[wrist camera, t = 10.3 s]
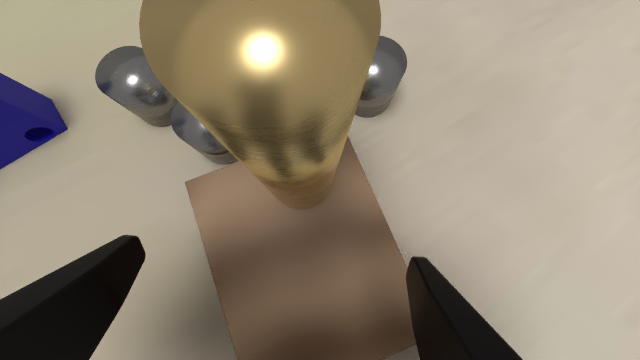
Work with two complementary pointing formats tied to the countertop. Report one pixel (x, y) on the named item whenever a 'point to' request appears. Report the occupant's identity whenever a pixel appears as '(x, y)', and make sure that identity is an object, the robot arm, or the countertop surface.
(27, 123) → the cable clip
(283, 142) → the cylinder
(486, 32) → the countertop surface
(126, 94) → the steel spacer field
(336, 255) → the brown wooden board
